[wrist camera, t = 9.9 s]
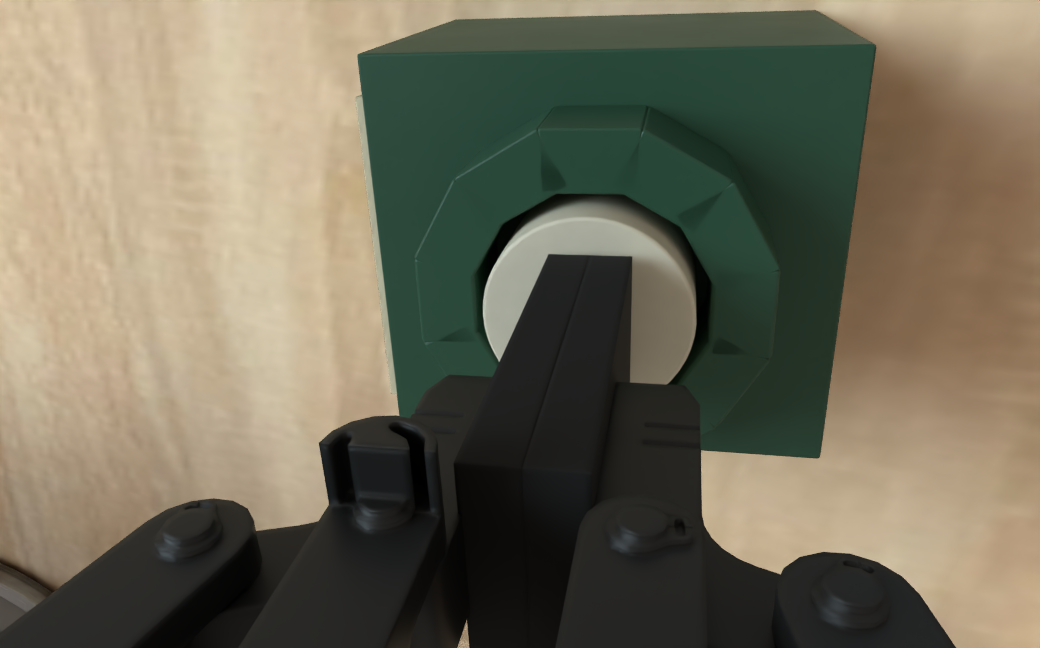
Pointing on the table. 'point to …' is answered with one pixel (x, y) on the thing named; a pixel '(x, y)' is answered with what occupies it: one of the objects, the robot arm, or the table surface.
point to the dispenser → (631, 187)
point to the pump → (605, 232)
